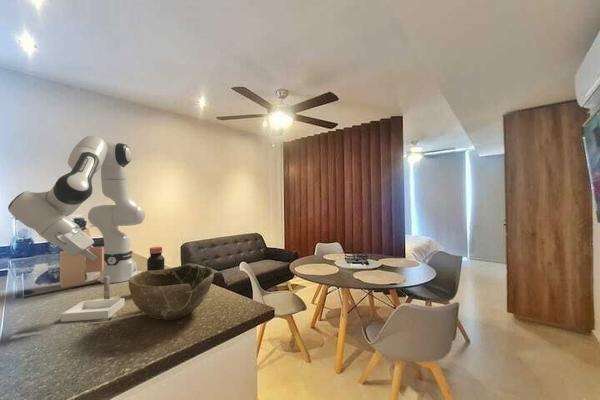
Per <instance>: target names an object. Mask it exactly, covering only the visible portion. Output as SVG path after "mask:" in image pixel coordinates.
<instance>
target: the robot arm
mask: <svg viewBox="0 0 600 400" xmlns="http://www.w3.org/2000/svg"><path fill="white" fill-rule="evenodd" d="M131 161H132V151H131V148H130V146H128V145H127V144H125V143H121V142H118V143H117V142H109V141H108V142H107V141H105V140H104V139H103V138H101V137H99V136H96V135H89V136H88V135H87V136H85V137H83V138H82V139H81V140H80V141H79V142H78V143H77V144H76V145H75V146H74V148H72V151H71V152H70V154H69V156H68V160H67V164H68V167H70V169H71V170H70V172H68V173H65V174H64V175H62V176H60V177H58V179H57V180H56V182H55V184H54V185H53V186H52V187H51V189H50V190H48V191H43V192H40V191H39V192H33V191H29V190H28V191H27V190H26V191H23V192H21V193H19V194H18V195H16V197H14V198H13V199H12V200H11V202H10V203H9V204H8V207H7V210H8V212H9V213H10V214H11V215H12V216H13V217H14V218H15V219H16V220H17V221H18V222H20V223H21V224H22V225H24V226H25V227H27V228H29V229H32V230H34V231H35V232H36V233H37V234H38V235H39V236H40V238H42V239H44V240H46V241H47V242H49V243H50V244H51V245H53V246H54V245H56V246H58V247H59V248H60V249H61V250H62V251H65V252H66V253H68V254H69V255H71V256H73V257H76V256H77V255H79V254H81V255H82V256H84V257H87V258H89V259H90V260H92V261H94V260H95V259H96V258H97V255H95V254H93V253H91V252H90V251H89V250H88V249H87V248H91V247H94V246H93V245H94V244H95V241H94V240H93V238H92V237H91V236H89V235H88V234H87V233H86V232H85V231H84V230H83V229H81V228H80V227H81V226H80V225H79V224H78V223H76V222H74V221H73V220H71V219H70V218H69V216H71V215H72V214H73V213H74V212H75V211H77V209H78V208H79V207H80V206H82V204H83V203H84V202H85V201H86V200H88V199H89V198H90V197H92V194H93V185H92V184H93V183H92V181H93V177H94V175H95V174H96V173H97V172H98V171H99V169H100V179H101V181H100V183H101V192H102V194H103V195H104V197H105V198H108V199H110V200H111V201H113V202H114V203H115V204H102V205H96V206H93V207H91V208H90V209H89V211H88V213H87V219H88V222H89V223H90V224H91V225H93V227H96V228H97V229H98V230H99V232H100V234H101V235H102V238H103V245H104V246H103V247H104V269H103V270H102V271H99V277H97V278H96V282H100V283H102V284H104V277H106V276H109V284H115V283H116V284H117V283H122V282H123V283H124V282H126V281H129V280H130V278H131V277H132V276H134V275H137V274H139V273H141V272H143V271H142V270H140V269H138V263H137V262H136V261H135V259H133V258H132V255H133V254H134V251H133V250H131V239H130V236H129V235H128V234H127V233H125V232H122V231H121V230H120V228H119V226H120V227H127V226H135V225H140V224H142V223H143V222H144V220H145V217H146V212H145V209H144V208H143V207H142V206H141V205H139V204H138V203H136V202H135V200H134V199H133V198H132V196H131V194H130V191H129V183H128V182H129V181H128V175H127V168H126V166H127V165H128V164H129V163H130V162H131Z"/></svg>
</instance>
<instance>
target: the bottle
mask: <svg viewBox="0 0 600 400" xmlns="http://www.w3.org/2000/svg"><path fill="white" fill-rule="evenodd" d="M162 253H163V247H162V246H152V247H150V248H149V257H148V258H147V263H146V264H147V265H146V271H150V270H152V271H155V270H165V269H166V268H165V257H164V256H163V255H162Z"/></svg>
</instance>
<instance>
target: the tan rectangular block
mask: <svg viewBox="0 0 600 400" xmlns="http://www.w3.org/2000/svg"><path fill="white" fill-rule="evenodd" d="M82 284H83V285H85V284H86V273H85V257H84V256H82V255H81V254H79V255H77V256H76V257H73V256H71V255H69V254H68V253H66V252H65V251H64V250H61V251H59V286H60V287H61V289H65V287H66V288H70V286H71V287H75V286H76V285H77V286H82Z"/></svg>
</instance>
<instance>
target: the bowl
mask: <svg viewBox="0 0 600 400" xmlns="http://www.w3.org/2000/svg"><path fill="white" fill-rule="evenodd" d="M214 277H215V272H214V269H212V268H211V267H207V266H205V267H200V266H199V265H189V264H185V265H180V266H175V267H174V266H173V267H172V268H171V267H170V268H165V270H155V271H152V270H150V271H147V270H145V271H142V272H141V273H139V274H137V275H134V276H132V277H131V278H130V280H128V289H129V293H130V295H131V299H132V302H133V303H134V305H135V306H136V307H137V309H138V310H139V311H141V312H143V314H144V315H145V314H146V315H147V316H148V317H150V318H153V319H158V320H166V321H174V320H177V319H180V318H183V317H186V316H187V315H188V314H190V313H191V312H193V311H194V310H195V309H197V308H198V307H200V305H201V304H202V303H203V301H204V300H205V298H206V297H207V296H208V293H209V292H210V289H211V286H212V283H213V280H214Z"/></svg>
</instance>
